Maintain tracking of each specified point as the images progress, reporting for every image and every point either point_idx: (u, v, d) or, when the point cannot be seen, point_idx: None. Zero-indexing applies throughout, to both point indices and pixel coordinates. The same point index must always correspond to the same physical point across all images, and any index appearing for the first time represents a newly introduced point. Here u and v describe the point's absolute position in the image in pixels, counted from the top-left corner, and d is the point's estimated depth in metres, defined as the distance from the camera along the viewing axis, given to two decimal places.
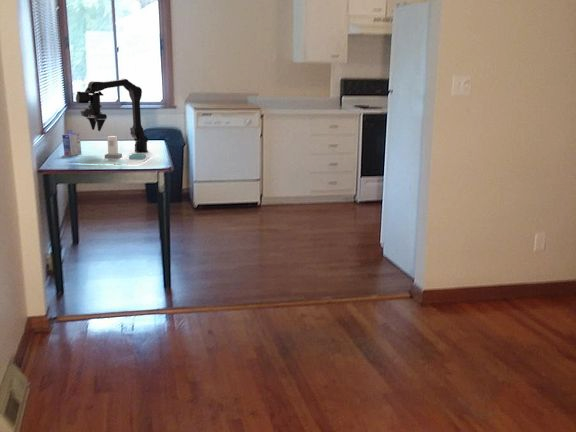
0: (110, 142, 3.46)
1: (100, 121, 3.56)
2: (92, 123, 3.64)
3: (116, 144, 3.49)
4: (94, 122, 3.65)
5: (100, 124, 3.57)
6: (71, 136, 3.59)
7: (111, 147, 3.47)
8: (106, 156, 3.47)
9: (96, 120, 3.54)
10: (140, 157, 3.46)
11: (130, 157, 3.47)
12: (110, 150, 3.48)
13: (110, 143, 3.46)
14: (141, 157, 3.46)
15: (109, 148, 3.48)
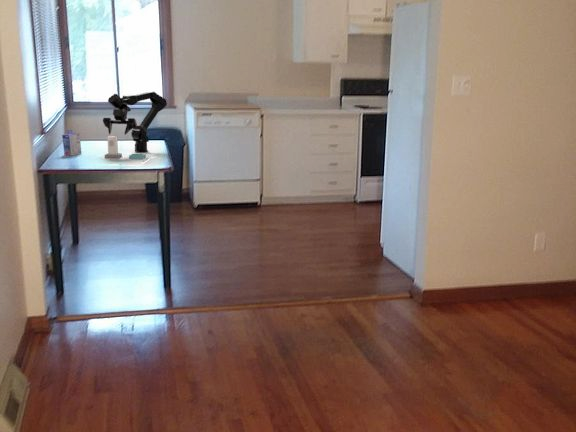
0: (110, 142, 3.46)
1: (129, 127, 3.59)
2: (110, 128, 3.58)
3: (116, 144, 3.49)
4: (111, 129, 3.60)
5: (128, 129, 3.58)
6: (71, 136, 3.59)
7: (111, 147, 3.47)
8: (106, 156, 3.47)
9: (130, 123, 3.57)
10: (140, 157, 3.46)
11: (130, 157, 3.47)
12: (110, 150, 3.48)
13: (110, 143, 3.46)
14: (141, 157, 3.46)
15: (109, 148, 3.48)
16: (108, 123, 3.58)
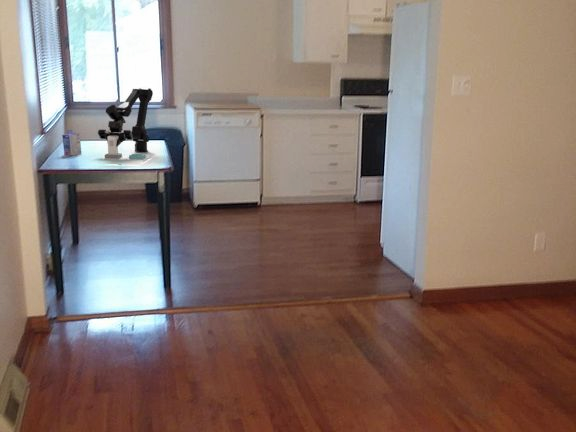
0: (110, 142, 3.46)
1: (120, 139, 3.52)
2: None
3: None
4: None
5: (120, 141, 3.51)
6: (71, 136, 3.59)
7: (111, 147, 3.47)
8: (106, 156, 3.47)
9: (121, 134, 3.50)
10: (140, 157, 3.46)
11: (130, 157, 3.47)
12: (110, 150, 3.48)
13: (110, 143, 3.46)
14: (141, 157, 3.46)
15: (109, 148, 3.48)
16: (107, 135, 3.50)
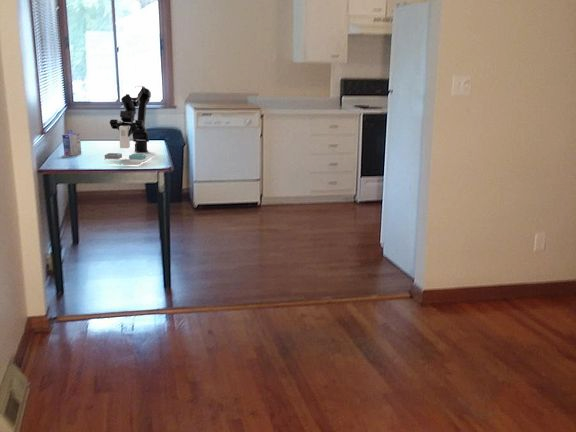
0: (122, 132, 3.44)
1: (132, 129, 3.50)
2: None
3: None
4: None
5: (131, 131, 3.49)
6: (71, 136, 3.59)
7: (123, 137, 3.46)
8: (106, 156, 3.47)
9: (133, 124, 3.48)
10: (140, 157, 3.46)
11: (130, 157, 3.47)
12: (121, 140, 3.46)
13: (122, 133, 3.44)
14: (141, 157, 3.46)
15: (121, 138, 3.46)
16: (119, 125, 3.48)
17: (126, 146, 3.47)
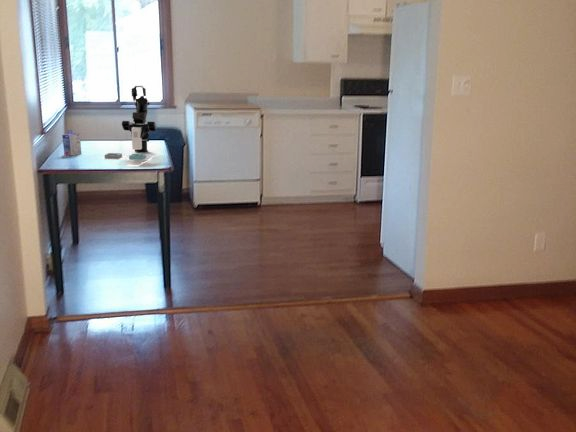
0: (134, 133, 3.44)
1: (144, 130, 3.50)
2: None
3: None
4: None
5: (144, 132, 3.49)
6: (71, 136, 3.59)
7: (135, 138, 3.46)
8: (106, 156, 3.47)
9: (145, 126, 3.48)
10: (140, 157, 3.46)
11: (130, 157, 3.47)
12: (134, 141, 3.46)
13: (134, 134, 3.44)
14: (141, 157, 3.46)
15: (133, 139, 3.46)
16: (131, 126, 3.48)
17: (138, 147, 3.47)
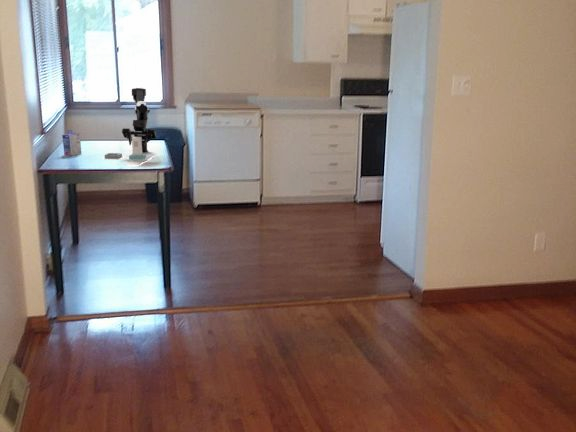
0: (135, 143, 3.45)
1: (147, 138, 3.51)
2: (130, 139, 3.49)
3: (141, 144, 3.49)
4: (131, 140, 3.51)
5: (147, 140, 3.50)
6: (71, 136, 3.59)
7: (135, 148, 3.47)
8: (106, 156, 3.47)
9: (149, 133, 3.49)
10: (140, 157, 3.46)
11: (130, 157, 3.47)
12: (134, 151, 3.47)
13: (135, 144, 3.46)
14: (141, 157, 3.46)
15: (134, 148, 3.47)
16: (128, 134, 3.49)
17: None
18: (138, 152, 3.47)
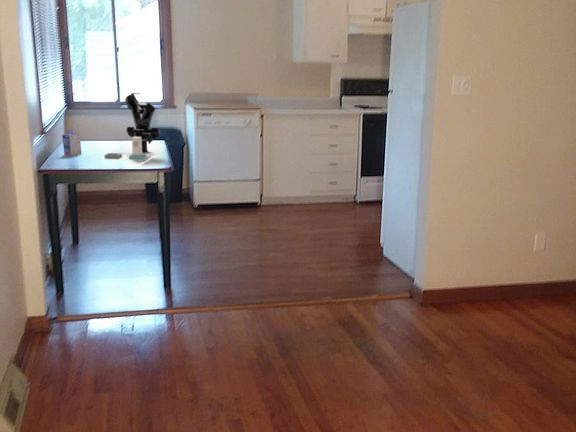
0: (135, 143, 3.45)
1: (152, 136, 3.60)
2: None
3: (141, 144, 3.49)
4: None
5: (152, 138, 3.59)
6: (71, 136, 3.59)
7: (135, 148, 3.47)
8: (106, 156, 3.47)
9: (153, 132, 3.57)
10: (140, 157, 3.46)
11: (130, 157, 3.47)
12: (134, 151, 3.47)
13: (135, 144, 3.46)
14: (141, 157, 3.46)
15: (134, 148, 3.47)
16: (132, 132, 3.58)
17: None
18: (138, 152, 3.47)
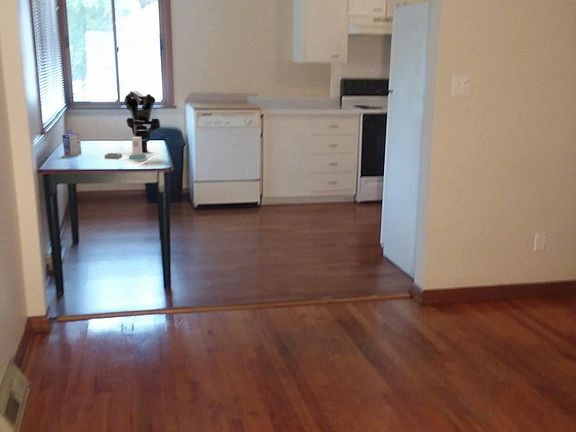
0: (135, 143, 3.45)
1: (152, 127, 3.59)
2: (133, 129, 3.57)
3: (141, 144, 3.49)
4: (134, 129, 3.59)
5: (152, 129, 3.58)
6: (71, 136, 3.59)
7: (135, 148, 3.47)
8: (106, 156, 3.47)
9: (154, 123, 3.57)
10: (140, 157, 3.46)
11: (130, 157, 3.47)
12: (134, 151, 3.47)
13: (135, 144, 3.46)
14: (141, 157, 3.46)
15: (134, 148, 3.47)
16: (132, 123, 3.57)
17: None
18: (138, 152, 3.47)
